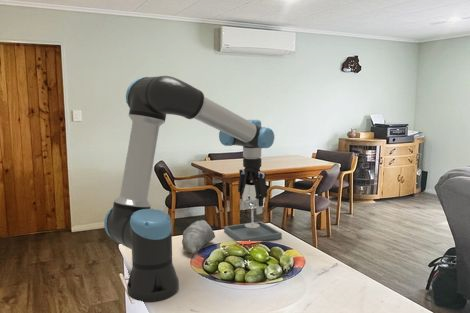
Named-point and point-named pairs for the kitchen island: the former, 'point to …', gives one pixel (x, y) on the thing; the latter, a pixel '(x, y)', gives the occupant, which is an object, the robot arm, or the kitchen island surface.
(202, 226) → the grey rock
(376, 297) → the kitchen island surface
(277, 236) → the tray
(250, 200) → the wineglass
